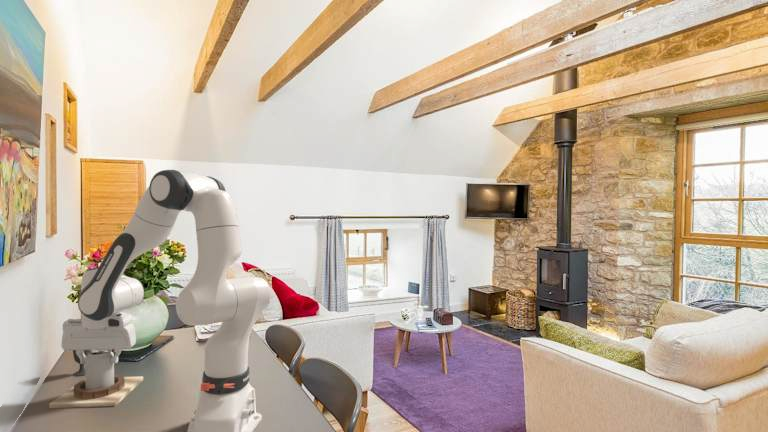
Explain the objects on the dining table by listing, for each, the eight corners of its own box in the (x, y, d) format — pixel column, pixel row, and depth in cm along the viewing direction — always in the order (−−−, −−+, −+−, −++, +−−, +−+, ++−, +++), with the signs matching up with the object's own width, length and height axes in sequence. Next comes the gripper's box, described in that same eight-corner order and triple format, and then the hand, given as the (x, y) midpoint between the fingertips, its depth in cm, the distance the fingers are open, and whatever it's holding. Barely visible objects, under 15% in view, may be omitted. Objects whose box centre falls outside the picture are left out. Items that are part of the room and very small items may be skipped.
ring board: (115, 405, 127) (115, 395, 127) (49, 408, 125) (49, 397, 125) (143, 379, 145) (143, 370, 144) (85, 381, 143) (85, 371, 143)
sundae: (82, 368, 153) (81, 326, 152) (98, 370, 152) (97, 327, 151) (64, 376, 147) (64, 332, 146) (81, 378, 145) (80, 333, 145)
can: (79, 391, 133) (79, 352, 132) (103, 382, 140) (102, 345, 139) (96, 396, 130) (96, 356, 130) (119, 386, 137) (119, 348, 137)
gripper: (56, 322, 130) (56, 367, 130) (128, 321, 132) (128, 366, 132) (69, 316, 136) (69, 359, 137) (138, 315, 138) (138, 358, 139)
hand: (99, 362), depth 134 cm, fingers closed on can, 7 cm apart
